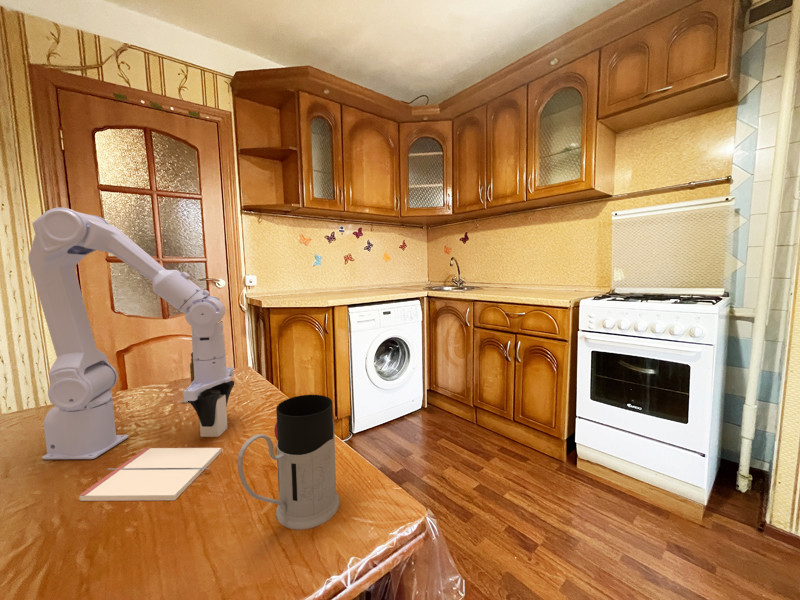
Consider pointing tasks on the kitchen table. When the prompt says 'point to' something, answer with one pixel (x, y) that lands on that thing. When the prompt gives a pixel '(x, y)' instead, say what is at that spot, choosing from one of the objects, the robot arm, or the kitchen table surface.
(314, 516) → the glass holder
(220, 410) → the white bottle
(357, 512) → the kitchen table surface
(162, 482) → the notepad
